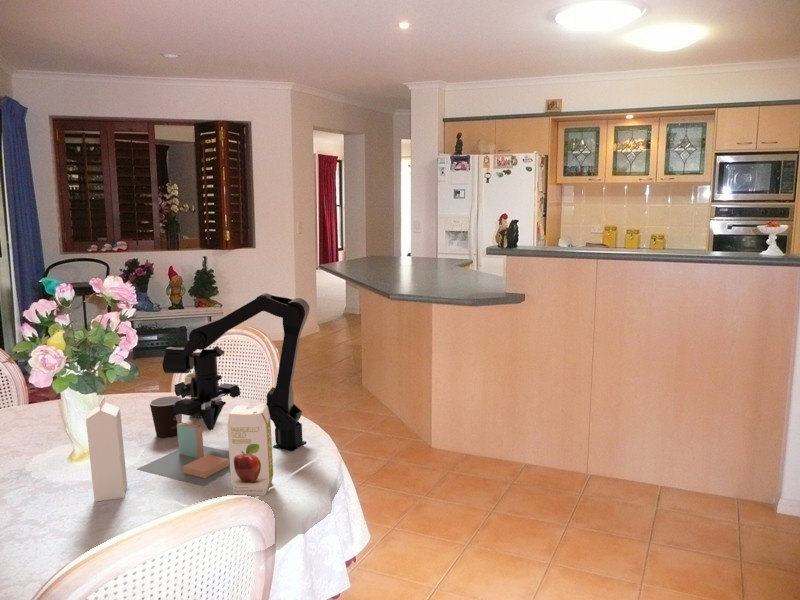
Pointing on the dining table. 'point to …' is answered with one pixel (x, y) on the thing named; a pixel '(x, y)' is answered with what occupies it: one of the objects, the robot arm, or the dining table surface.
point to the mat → (175, 462)
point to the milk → (106, 452)
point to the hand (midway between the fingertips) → (210, 429)
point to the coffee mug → (165, 416)
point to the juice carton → (250, 449)
